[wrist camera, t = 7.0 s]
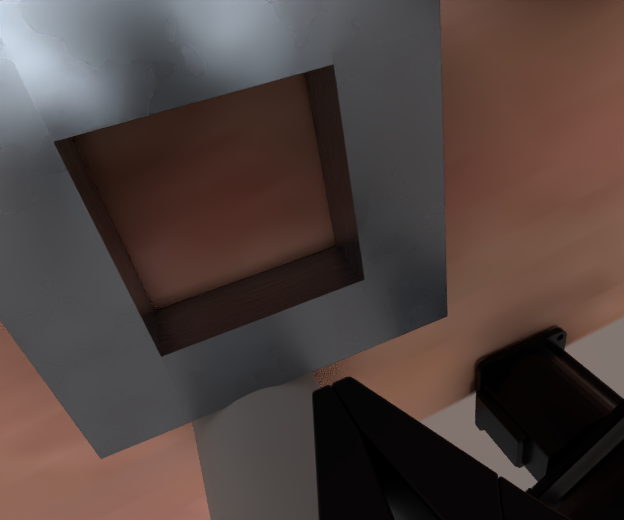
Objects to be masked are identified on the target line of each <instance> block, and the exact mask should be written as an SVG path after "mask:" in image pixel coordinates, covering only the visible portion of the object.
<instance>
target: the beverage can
mask: <svg viewBox="0 0 624 520" xmlns="http://www.w3.org/2000/svg"><path fill="white" fill-rule="evenodd" d="M319 388H321V387H320V385H319V383H318V381H317V379H316V377H315V375H314V374H313V372H311V373H308V374H306V375H304V376H301V377H299V378H296V379H294V380H291V381H289V382H287V383H284V384H282V385H279V386H273V387H268V388H264V389H261V390H258V391H255V392H253V393H250V394H248V395H246V396H244V397H242V398H240V399H238V400H236V401H235V402H233V403H232V404H231V405H229V406H228V407H226V408H224V409H221V410H219V411H216V412H214V413H211V414H209V415H207V416H204V417H202V418H199V419H197V420H195V421H192V423H193V428H194V433H195V439H196V444H197V449H198V454H199V460H200V465H201V470H202V476H203V481H204V486H205V491H206V497H207V502H208V507H209V513H210V518H211V520H319V517H318V499H317V481H316V462H315V444H314V426H313V407H312V392H313V391H314V390H317V389H319Z"/></svg>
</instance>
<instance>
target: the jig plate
mask: <svg viewBox="0 0 624 520" xmlns="http://www.w3.org/2000/svg"><path fill="white" fill-rule="evenodd" d="M304 72H305V74H306V79H307V85H308V91H309V96H310V102H311V107H312V113H313V119H314V124H315V130H316V136H317V141H318V147H319V153H320V158H321V164H322V169H323V175H324V181H325V186H326V192H327V198H328V203H329V209H330V214H331V220H332V226H333V231H334V237H335V243H336V246H335V247H333V248H330V249H327V250H324V251H321V252H319V253H316V254H313V255H310V256H308V257H305V258H302V259H299V260H296V261H294V262H291V263H288V264H285V265H282V266H280V267H277V268H274V269H271V270H269V271H266V272H263V273H260V274H257V275H255V276H252V277H249V278H246V279H244V280H241V281H238V282H235V283H232V284H230V285H227V286H224V287H221V288H219V289H216V290H213V291H210V292H207V293H205V294H202V295H199V296H196V297H194V298H191V299H188V300H185V301H182V302H180V303H177V304H174V305H171V306H168V307H166V308H163V309H160V310H157V311H154V309H153V307H152V305H151V302H150V300H149V298H148V296H147V294H146V292H145V290H144V288H143V286H142V284H141V281H140V279H139V277H138V275H137V273H136V271H135V269H134V267H133V265H132V263H131V260H130V258H129V256H128V254H127V252H126V250H125V248H124V246H123V244H122V242H121V239H120V237H119V235H118V233H117V231H116V229H115V227H114V225H113V223H112V221H111V218H110V216H109V214H108V212H107V210H106V208H105V206H104V204H103V202H102V200H101V197H100V195H99V193H98V191H97V189H96V187H95V185H94V183H93V181H92V179H91V176H90V174H89V172H88V170H87V168H86V166H85V164H84V162H83V160H82V158H81V155H80V153H79V151H78V149H77V147H76V145H75V143H74V141H73V139H72V136H76V135H80V134H83V133H87V132H90V131H94V130H98V129H101V128H105V127H109V126H112V125H116V124H119V123H123V122H127V121H130V120H134V119H137V118H141V117H145V116H148V115H152V114H156V113H159V112H163V111H166V110H170V109H174V108H177V107H181V106H185V105H188V104H192V103H195V102H199V101H203V100H206V99H210V98H213V97H217V96H221V95H224V94H228V93H232V92H235V91H239V90H242V89H246V88H250V87H253V86H257V85H260V84H264V83H268V82H271V81H275V80H279V79H282V78H286V77H289V76H293V75H297V74H300V73H304ZM444 317H447V281H446V239H445V197H444V154H443V112H442V70H441V28H440V0H0V321H1V322H2V323H3V325H4V326H5V327H6V329H7V330H8V332H9V333H10V334H11V336H12V337H13V338H14V340H15V341H16V343H17V344H18V345H19V347H20V348H21V349H22V351H23V352H24V354H25V355H26V356H27V358H28V359H29V361H30V362H31V363H32V365H33V366H34V367H35V369H36V370H37V372H38V373H39V374H40V376H41V377H42V378H43V380H44V381H45V383H46V384H47V385H48V387H49V388H50V389H51V391H52V392H53V394H54V395H55V396H56V398H57V399H58V400H59V402H60V403H61V405H62V406H63V407H64V409H65V410H66V412H67V413H68V414H69V416H70V417H71V418H72V420H73V421H74V423H75V424H76V425H77V427H78V428H79V429H80V431H81V432H82V434H83V435H84V436H85V438H86V439H87V440H88V442H89V443H90V445H91V446H92V447H93V449H94V450H95V452H96V453H97V454H98V456H99V457H100V458H101V459H102V458H105V457H107V456H110V455H112V454H114V453H117V452H119V451H122V450H124V449H127V448H129V447H131V446H134V445H136V444H139V443H141V442H144V441H146V440H148V439H151V438H153V437H156V436H158V435H161V434H163V433H165V432H168V431H170V430H173V429H175V428H178V427H180V426H182V425H185V424H187V423H190V422H192V421H195V420H197V419H199V418H202V417H204V416H207V415H209V414H211V413H214V412H216V411H219V410H221V409H224V408H226V407H228V406H229V405H231V404H232V403H233V402H235V401H236V400H238V399H240V398H242V397H244V396H246V395H248V394H250V393H253V392H255V391H258V390H261V389H264V388H268V387H273V386H279V385H282V384H284V383H287V382H289V381H291V380H294V379H296V378H299V377H301V376H304V375H306V374H308V373H311V372H313V371H316V370H318V369H321V368H323V367H325V366H328V365H330V364H333V363H335V362H338V361H340V360H342V359H345V358H347V357H350V356H352V355H355V354H357V353H359V352H362V351H364V350H367V349H369V348H372V347H374V346H376V345H379V344H381V343H384V342H386V341H388V340H391V339H393V338H396V337H398V336H401V335H403V334H405V333H408V332H410V331H413V330H415V329H418V328H420V327H422V326H425V325H427V324H430V323H432V322H435V321H437V320H439V319H442V318H444Z"/></svg>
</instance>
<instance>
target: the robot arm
mask: <svg viewBox="0 0 624 520" xmlns="http://www.w3.org/2000/svg"><path fill="white" fill-rule="evenodd" d="M566 336H567V333H566V332H565V331H564V330H563V329H562V328H556V329H553V330H551V331H549V332H547V333H544V334H542V335H540V336H537V337H535V338H533V339H531V340H528V341H526V342H524V343H522V344H519V345H517V346H515V347H513V348H510V349H508V350H506V351H503V352H501V353H499V354H497V355H494V356H492V357H490V358H488V359H485V360H483V361H482V362H480V363H479V364H478V366H477V377H476V410H475V413H476V414H475V419H476V420H475V423H476V426H477V427H478V428H479V430H485V431H486V432H487V433H488V434H489V436H490V437H491V438H492V439H493V441H494V442H495V443H496V444H497V445H498V447H499V448H500V449H501V450H502V451H503V453H504V454H505V455H506V456H507V457H508V459H509V460H510V461H511V462H512V463H513V465H514V466H516V467H518V468H521V467H523V466H525V467H526V469H527V470H528V471H529V472H530V473H531V474H532V476H533V477H534V478H535V479H536V480H537V481H538V482H537V483H536V485H534V486H533V487H532V488H529V489H528V490H526V491H525V492H524V491H523V490H521V489H519V488H518V487H517V486H515V485H514V484H512V483H511V482H509V481H508V480H506V479H505V478H503V477H499V478H498V475H497V473H495V472H494V471H492V470H491V469H489V468H488V467H486V466H485V465H483V464H482V463H480V462H479V461H477V460H476V459H474V458H473V457H471V456H470V455H468V454H467V453H465V452H464V451H462V450H460V449H459V448H458V447H456V446H454V445H453V444H452V443H450V442H449V441H447V440H446V439H444V438H443V437H441V436H439V435H438V434H437V433H435V432H434V431H432V430H431V429H429V428H428V427H426V426H425V425H423V424H422V423H420V422H419V421H417V420H416V419H414V418H413V417H411V416H410V415H408V414H407V413H405V412H404V411H402V410H401V409H399V408H398V407H396V406H395V405H393V404H392V403H390V402H389V401H387V400H386V399H384V398H382V397H381V396H379V395H378V394H376V393H375V392H373V391H372V390H370V389H369V388H367V387H366V386H364V385H363V384H361V383H360V382H358V381H357V380H355V379H354V378H352V377H345V378H343V379H341V380H338V381H336V382H334V383H333V384H332V386H330V385H326V386H324V387H322V388H319V389H317V390H314V391H313V392H312V407H313V426H314V444H315V462H316V481H317V499H318V517H319V520H624V399H623V398H622V397H621V396H620V395H618V394H617V393H616V392H615V391H614V390H612V389H611V388H610V387H609V386H607V385H606V384H605V383H604V382H602V381H601V380H600V379H599V378H598V377H596V376H595V375H594V374H592V373H591V372H590V371H589V370H588V369H586V368H585V367H584V366H583V365H582V364H580V363H579V362H578V361H577V360H575V359H574V358H573V357H572V356H571V355H569V354H568V353H567V352H566V351H564V348H565V342H566Z"/></svg>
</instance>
